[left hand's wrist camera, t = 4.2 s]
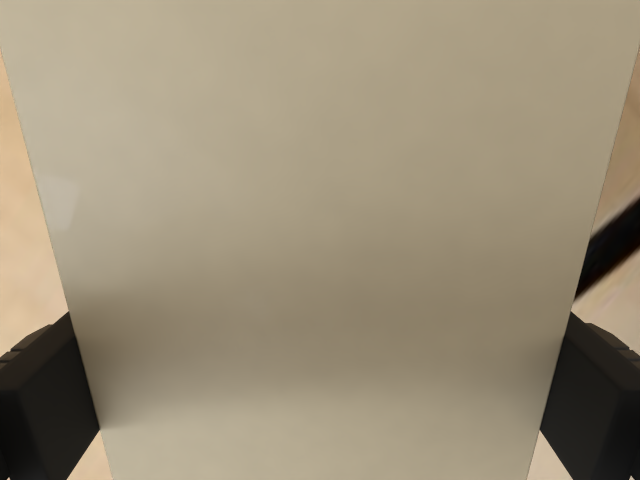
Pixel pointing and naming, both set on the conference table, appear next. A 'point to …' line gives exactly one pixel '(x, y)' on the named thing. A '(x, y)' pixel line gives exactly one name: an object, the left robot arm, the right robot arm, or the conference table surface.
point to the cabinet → (319, 221)
